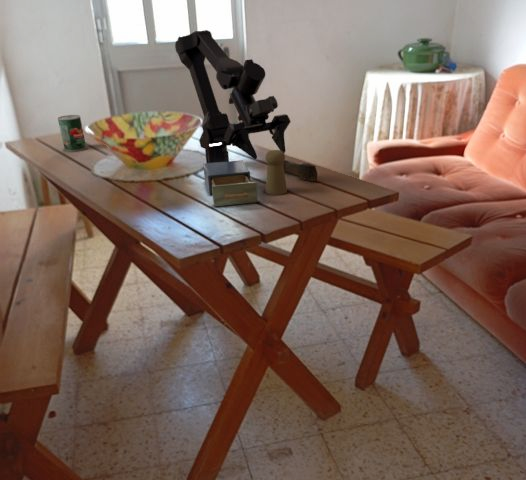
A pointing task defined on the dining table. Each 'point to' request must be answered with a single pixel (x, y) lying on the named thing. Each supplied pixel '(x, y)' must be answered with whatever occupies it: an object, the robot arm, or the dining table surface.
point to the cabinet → (223, 171)
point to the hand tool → (301, 170)
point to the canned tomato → (72, 132)
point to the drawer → (233, 190)
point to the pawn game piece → (275, 173)
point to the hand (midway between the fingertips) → (270, 155)
